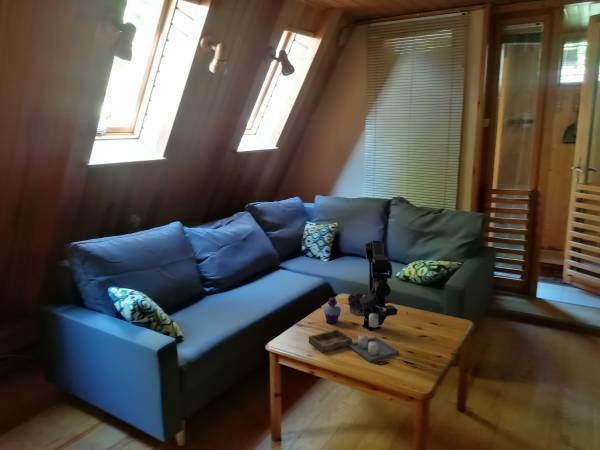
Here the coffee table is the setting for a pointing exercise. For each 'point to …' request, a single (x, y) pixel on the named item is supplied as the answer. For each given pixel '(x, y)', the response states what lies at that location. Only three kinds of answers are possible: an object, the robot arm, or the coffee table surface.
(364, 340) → the stone
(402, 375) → the coffee table surface
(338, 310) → the potion bottle
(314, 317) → the coffee table surface
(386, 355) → the slate tray
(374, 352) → the stone
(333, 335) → the walnut box
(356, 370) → the coffee table surface
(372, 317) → the stone
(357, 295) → the crystal cluster
